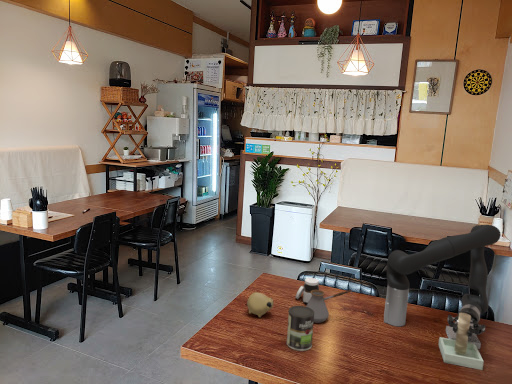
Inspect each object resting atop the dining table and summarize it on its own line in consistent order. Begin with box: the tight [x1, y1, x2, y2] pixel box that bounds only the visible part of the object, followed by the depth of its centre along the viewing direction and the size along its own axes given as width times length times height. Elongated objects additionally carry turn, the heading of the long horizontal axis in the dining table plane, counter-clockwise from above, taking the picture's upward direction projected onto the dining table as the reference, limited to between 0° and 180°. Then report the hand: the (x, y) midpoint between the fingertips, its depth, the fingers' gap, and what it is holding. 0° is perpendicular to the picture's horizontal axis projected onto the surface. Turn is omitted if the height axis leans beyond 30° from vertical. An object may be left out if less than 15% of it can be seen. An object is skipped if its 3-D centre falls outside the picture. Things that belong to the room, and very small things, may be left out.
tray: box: [438, 336, 484, 371], centre depth 149 cm, size 13×13×4 cm
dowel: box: [455, 312, 471, 354], centre depth 147 cm, size 4×4×15 cm
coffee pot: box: [305, 289, 353, 324], centre depth 173 cm, size 21×12×15 cm, turn 87°
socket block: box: [445, 325, 482, 350], centre depth 162 cm, size 11×11×2 cm
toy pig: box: [246, 292, 274, 318], centre depth 175 cm, size 10×12×11 cm
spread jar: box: [294, 277, 320, 305], centre depth 192 cm, size 12×11×12 cm
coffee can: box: [286, 305, 314, 352], centre depth 152 cm, size 10×10×14 cm
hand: (461, 332), depth 145 cm, fingers closed on dowel, 4 cm apart
